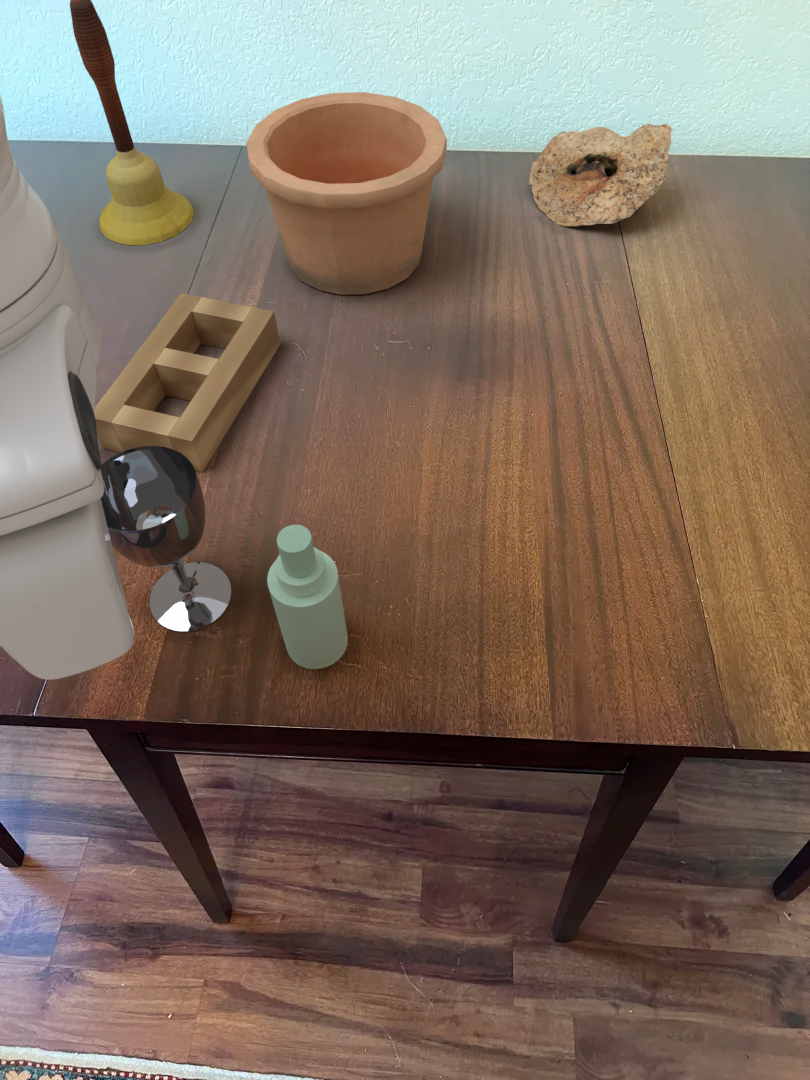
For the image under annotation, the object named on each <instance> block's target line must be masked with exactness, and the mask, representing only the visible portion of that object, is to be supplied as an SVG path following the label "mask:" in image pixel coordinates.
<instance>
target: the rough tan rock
mask: <svg viewBox="0 0 810 1080" xmlns="http://www.w3.org/2000/svg"><path fill="white" fill-rule="evenodd" d="M672 132H673V128H672V126H671V125H669V124H668V122H667V123H663V124H658V125H657V124H656V125H655V124H654V125H653V124H651V123H645V124H643V125H641V126H639V127H638V128H636V129H635V130H634V131H633V132H631V133H630V134H629V135H627V136H622V135H620V134H619V133H618V132H617V133H616V132H615V131H614V130H612V129H610V128H608V127H605V126H595V127H591V128H588V129H585V130H583V131H577V130H573V131H571V130H568V131H567V132H566V131H561V132H559V133H557V134H556V135H554V136H552V138H550V139H549V141H548V143H547V144H546V145H545V147H544V148H543V149H542V151H541V152H540V155H539V156H538V157H537V159H536V160H535V161H533V162H532V163H531V167H530V173H529V178H528V179H529V180H528V186H531V192H532V195H533V197H532V198H533V200H534V202H535V204H536V205H537V208H538V209H539V210H540V211H542V213H544V215H546V217H547V218H548V219H550V220H551V221H552V222H554V223H555V224H556V225H558V226H563V227H580V226H593V225H598V224H603V225H604V224H605V225H611V224H617V223H618V222H620V221H623V220H624V219H627V218H630V217H631V216H632V215H634V213H635V212H636V211H637V210H638V209H640V207H641V206H643V204H645V202H646V201H647V200H648V199H649V198H651V197H652V196H653V195H654V194H657V191H658V189H659V188H661V186H662V185H663V183H664V182H665V180H666V178H667V170H668V169H667V168H668V163H669V160H670V159H669V158H670V153H669V152H670V147H671V145H672V140H671V138H672V137H671V136H672Z"/></svg>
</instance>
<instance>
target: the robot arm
mask: <svg viewBox="0 0 810 1080" xmlns="http://www.w3.org/2000/svg"><path fill="white" fill-rule="evenodd" d="M14 157H15V156H14V155H13V152H12V149H11V146H10V143H9V138H8V134H7V126H6V115H5V108H4V104H3V99H2V95H1V94H0V647H1V648H2V649H3V651H5V652H6V653H7V654H8V655H9V656H10V657H11V658H12V659H13V660H15V661H16V662H17V663H18V664H19V665H20V666H21V667H22V668H23V669H24V670H25V671H27V672H28V673H29V674H31V675H33V676H35V677H36V678H39V679H41V680H49V681H51V680H58V679H63V678H68V677H72V676H75V675H78V674H81V673H84V672H87V671H90V670H93V669H96V668H98V667H102V666H103V665H106V664H108V663H110V662H113V661H115V660H117V659H119V658H121V657H122V656H124V655H126V653H128V652H129V651H130V650H131V649H132V647H133V646H134V643H135V630H134V626H133V625H134V624H133V622H132V619H131V617H130V616H131V615H130V613H129V609H128V605H127V600H126V597H125V593H124V589H123V585H122V580H121V576H120V572H119V567H118V564H117V560H116V555H115V552H114V548H113V547H112V543H111V539H110V535H109V531H108V527H107V523H106V519H105V514H104V510H103V506H102V502H101V497H102V496H103V494H104V483H103V479H102V474H101V470H100V469H101V468H102V464H103V463H102V459H101V453H100V447H99V440H98V437H97V432H96V419H95V407H96V400H97V399H96V397H97V390H98V389H97V388H98V387H97V386H98V373H97V372H98V371H97V369H98V367H99V364H100V360H101V357H102V349H103V348H102V347H103V342H102V335H101V331H100V329H99V326H98V324H97V322H96V319H95V316H94V315H93V312H92V309H91V306H90V305H89V302H88V300H87V298H86V295H85V293H84V289H83V288H82V285H81V282H80V280H79V279H78V276H77V274H76V272H75V269H74V266H73V265H72V264H73V263H72V262H71V259H70V258H69V254H68V252H67V250H66V247H65V244H64V243H63V240H62V238H61V235H60V232H59V229H58V227H57V226H56V223H55V221H54V218H53V216H52V214H51V212H50V210H49V209H48V207H47V206H46V204H45V202H44V201H43V200H42V198H41V197H40V195H39V194H38V193H37V192H36V191H35V189H34V187H32V186H31V185H30V183H29V182H28V180H27V179H26V178H25V176H24V175H23V173H22V172H21V170H20V168H19V166H18V164H17V162H16V160H15V158H14Z"/></svg>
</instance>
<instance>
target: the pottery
mask: <svg viewBox="0 0 810 1080" xmlns="http://www.w3.org/2000/svg"><path fill="white" fill-rule="evenodd" d="M447 150H448V139H447V136H446V134H445V132H444V130H443V127H442V124H441V123H440V121H439V119H437V117H435V116H434V115H432V114H431V113H430V112H429V111H427V110H426V109H425V108H424V107H422V106H421V105H419V104H416V103H413V102H410V101H407V100H405V99H402V98H399V97H397V96H393V95H387V94H379V93H373V92H366V91H363V92H362V91H359V92H357V91H356V92H330V93H326V94H325V93H324V94H321V95H315V96H311V97H305V98H301V99H299V100H296V101H293V102H291V103H289V104H286V105H284V106H281V107H279V108H277V109H275V110H273V111H272V112H271V113H269V114H267V116H265V117H264V118H263V119H261V120H260V121H259V122H258V123H256V124H255V125H254V128H253V130H252V132H251V133H250V135H249V137H248V139H247V141H246V151H247V158H248V165H249V170H250V174H251V175H252V176H253V177H254V178H255V179H256V181H257V182H259V184H260V185H261V186H262V187H263V188H264V189H265V193H266V194H267V198H268V201H269V204H270V208H271V210H272V213H273V216H274V221H275V224H276V225H277V229H278V232H279V235H280V238H281V242H282V245H283V249H284V251H285V255H286V257H287V261H288V264H289V269H290V270H291V271H292V272H293V273H294V274H295V275H296V277H297V278H298V279H299V281H301V282H304V283H305V284H307V285H309V286H310V287H313V288H315V289H316V290H318V291H321V292H326V293H332V294H336V295H341V296H348V295H349V296H350V295H351V296H353V295H356V296H357V295H368V294H373V293H377V292H381V291H385V290H388V289H390V288H392V287H394V286H396V285H398V284H399V283H401V282H403V281H405V280H406V279H408V278H409V277H410V276H411V275H412V273H413V272H414V271H416V269H417V268H418V267H419V266H420V263H421V259H422V255H423V249H424V248H423V246H424V240H425V233H426V227H427V220H428V215H429V209H430V201H431V194H432V189H433V182H434V178H435V177H436V176H437V175H438V174H439V173H440V172H441V171H442V169H443V167H444V162H445V157H446V154H447Z"/></svg>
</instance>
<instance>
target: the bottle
mask: <svg viewBox="0 0 810 1080" xmlns="http://www.w3.org/2000/svg"><path fill="white" fill-rule="evenodd" d="M276 545H277V550H278V553H279V554H278V556H277V557H276V559H275V560H274V561H273V562H272V564H271V566H270V567H269V570H268V572H267V577H266V584H267V588H268V591H269V595H270V598H271V601H272V605H273V609H274V612H275V615H276V618H277V621H278V626H279V629H280V633H281V636H282V639H283V642H284V645H285V646H284V647H285V649H286V652H287V654H288V656H289V658H290V659H291V661H293V662H294V663H295V664H296V665H297V666H300V667H301V668H304V669H308V670H320V669H325V668H328V667H330V666H332V665H334V664H336V663H337V662H338V661H339V660H340V659H341V658H342V657H343V656H344V654H345V652H346V650H347V647H348V644H349V637H348V629H347V623H346V616H345V609H344V603H343V597H342V591H341V584H340V579H339V578H340V577H339V570H338V567H337V565H336V562H335V561H334V560H333V559H332V557H331V556H330V555H328V554H327V553H325V552H324V551H323V550H319V549H318V548H317V547H315V546H314V542H313V537H312V533H311V531H310V530H309V529H308V528H307V527H306V526H304V525H301V524H289V525H287V526H285V527H283V528H282V529H281V530H280V531H279V532H278V534H277V536H276Z"/></svg>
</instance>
